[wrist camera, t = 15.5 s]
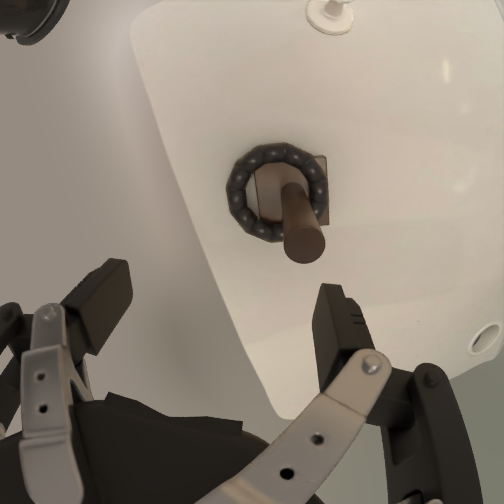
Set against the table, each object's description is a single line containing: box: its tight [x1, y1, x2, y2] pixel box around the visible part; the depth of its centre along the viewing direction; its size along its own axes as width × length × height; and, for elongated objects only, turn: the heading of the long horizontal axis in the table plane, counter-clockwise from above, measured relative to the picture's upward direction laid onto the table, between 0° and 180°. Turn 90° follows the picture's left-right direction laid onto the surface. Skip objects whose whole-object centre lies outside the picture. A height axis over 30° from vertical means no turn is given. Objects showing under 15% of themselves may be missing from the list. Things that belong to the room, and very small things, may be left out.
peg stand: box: [254, 156, 329, 264], centre depth 21 cm, size 7×7×13 cm
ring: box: [226, 143, 329, 243], centre depth 25 cm, size 10×10×2 cm
